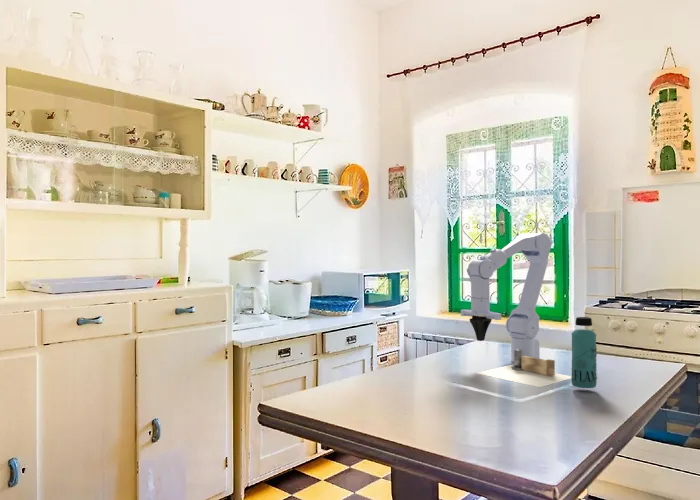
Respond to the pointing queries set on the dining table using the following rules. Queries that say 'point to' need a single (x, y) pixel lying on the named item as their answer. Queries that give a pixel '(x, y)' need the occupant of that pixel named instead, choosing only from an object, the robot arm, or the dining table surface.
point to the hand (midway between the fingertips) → (480, 340)
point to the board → (524, 376)
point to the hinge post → (517, 359)
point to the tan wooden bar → (538, 365)
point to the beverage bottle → (584, 355)
